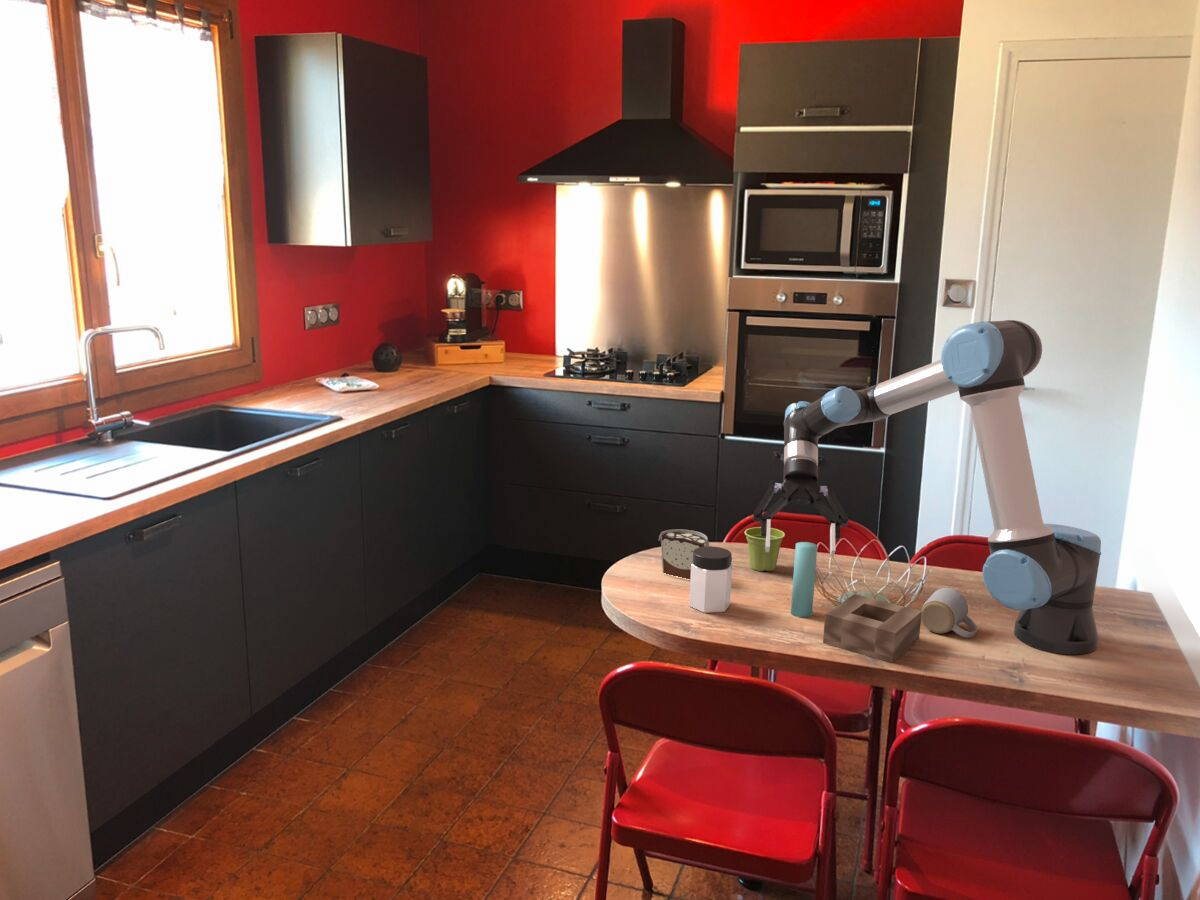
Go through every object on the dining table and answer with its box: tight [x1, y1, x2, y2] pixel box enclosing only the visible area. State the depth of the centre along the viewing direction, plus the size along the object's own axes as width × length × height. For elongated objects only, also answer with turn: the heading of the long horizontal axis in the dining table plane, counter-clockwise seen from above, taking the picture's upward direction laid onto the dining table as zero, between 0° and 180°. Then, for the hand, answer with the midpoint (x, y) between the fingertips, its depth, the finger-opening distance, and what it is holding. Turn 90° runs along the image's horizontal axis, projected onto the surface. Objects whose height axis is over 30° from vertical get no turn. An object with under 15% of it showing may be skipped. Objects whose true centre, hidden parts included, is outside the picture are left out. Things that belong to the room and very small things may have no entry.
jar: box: [688, 545, 733, 614], centre depth 209 cm, size 9×8×12 cm
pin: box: [790, 541, 818, 619], centre depth 206 cm, size 4×4×15 cm
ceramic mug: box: [920, 587, 978, 639], centre depth 200 cm, size 11×8×8 cm
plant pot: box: [744, 526, 786, 572], centre depth 234 cm, size 9×9×9 cm
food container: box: [658, 528, 710, 579], centre depth 228 cm, size 12×6×10 cm, turn 58°
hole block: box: [822, 593, 922, 664], centre depth 194 cm, size 14×14×6 cm
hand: (800, 551), depth 209 cm, fingers open, 13 cm apart
